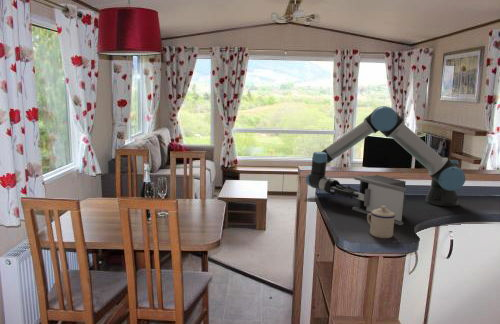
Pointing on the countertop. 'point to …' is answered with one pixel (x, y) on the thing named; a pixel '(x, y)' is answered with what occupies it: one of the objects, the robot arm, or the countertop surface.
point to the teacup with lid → (381, 222)
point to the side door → (384, 199)
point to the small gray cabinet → (381, 182)
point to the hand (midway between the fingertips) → (364, 197)
